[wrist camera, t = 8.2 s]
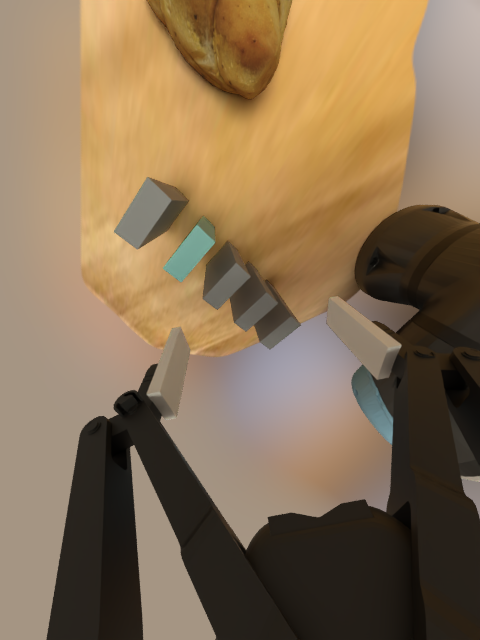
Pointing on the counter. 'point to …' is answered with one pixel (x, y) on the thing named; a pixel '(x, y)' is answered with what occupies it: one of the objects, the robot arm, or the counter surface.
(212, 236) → the teal domino
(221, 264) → the domino
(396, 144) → the counter surface
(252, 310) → the domino
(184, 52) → the bread roll
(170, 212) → the end domino
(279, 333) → the domino
